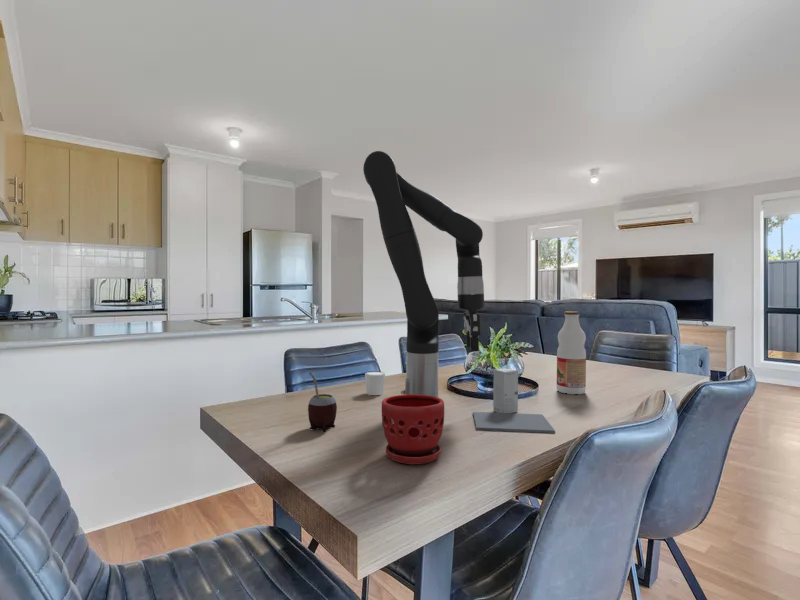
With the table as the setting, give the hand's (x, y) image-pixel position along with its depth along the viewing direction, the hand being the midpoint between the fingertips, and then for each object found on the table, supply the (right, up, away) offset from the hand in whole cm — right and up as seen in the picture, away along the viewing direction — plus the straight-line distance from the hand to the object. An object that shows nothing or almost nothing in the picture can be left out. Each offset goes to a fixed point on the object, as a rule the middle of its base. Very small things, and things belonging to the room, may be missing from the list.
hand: (472, 348), depth 124 cm
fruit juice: (+39, -18, +25) cm, 49 cm away
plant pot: (-18, -19, -34) cm, 43 cm away
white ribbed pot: (-29, -18, +21) cm, 40 cm away
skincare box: (+10, -18, 0) cm, 21 cm away
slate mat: (+8, -18, -11) cm, 23 cm away
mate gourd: (-41, -18, -16) cm, 47 cm away
